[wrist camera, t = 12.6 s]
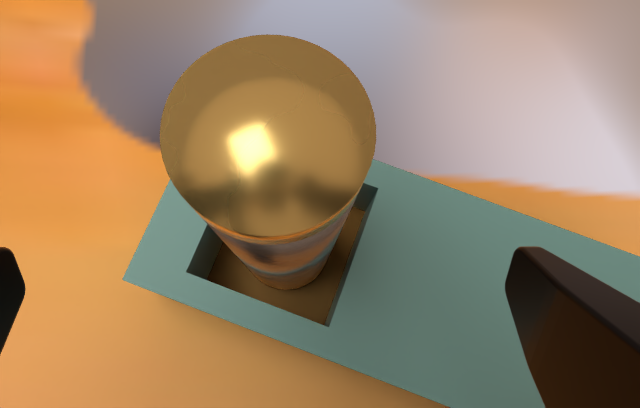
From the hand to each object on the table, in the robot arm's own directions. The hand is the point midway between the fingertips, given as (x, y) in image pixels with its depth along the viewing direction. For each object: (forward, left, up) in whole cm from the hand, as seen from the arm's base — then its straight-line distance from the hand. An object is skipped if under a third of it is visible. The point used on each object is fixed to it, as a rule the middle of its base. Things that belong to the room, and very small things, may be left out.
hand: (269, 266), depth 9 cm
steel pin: (0, +3, -14) cm, 14 cm away
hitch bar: (+5, 0, -14) cm, 14 cm away
